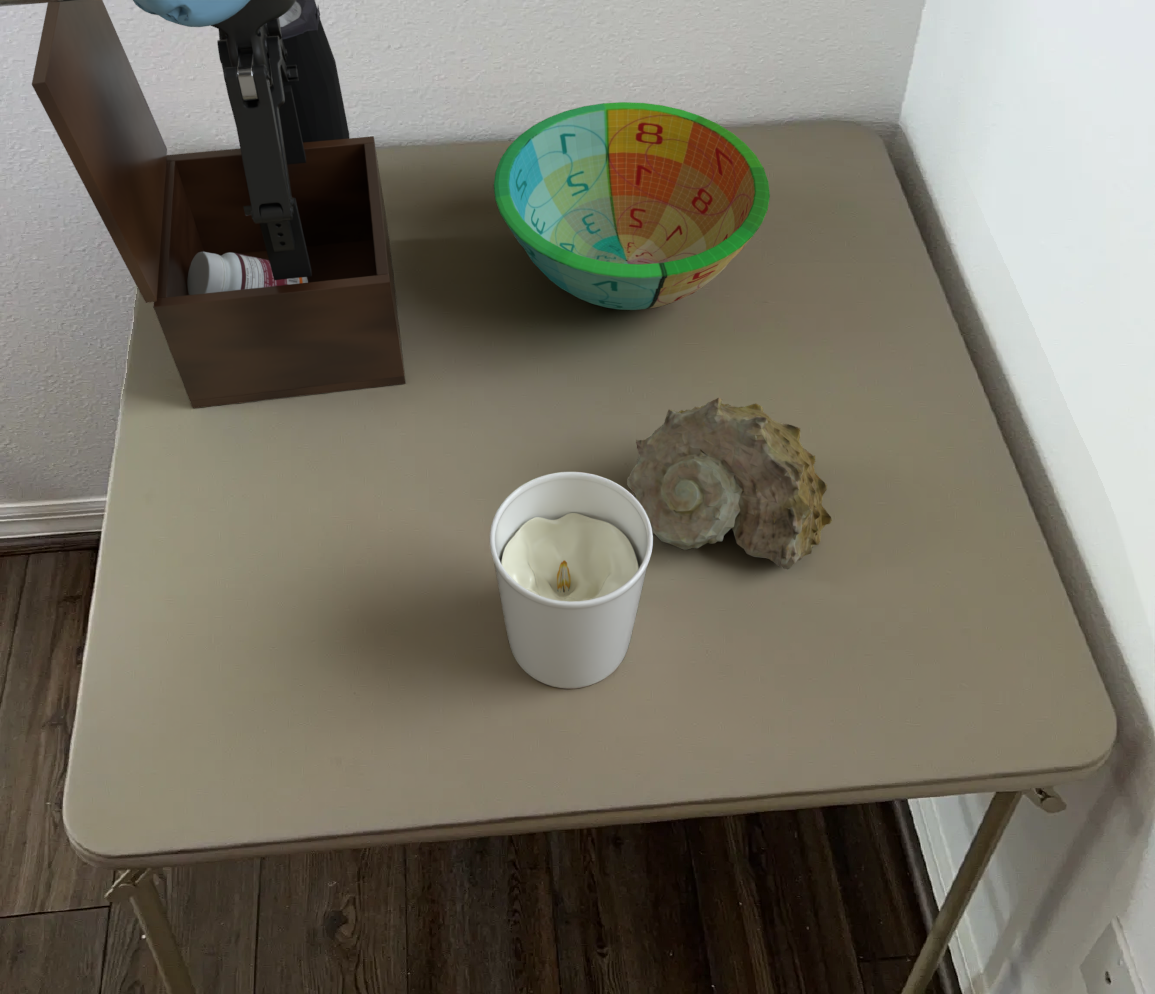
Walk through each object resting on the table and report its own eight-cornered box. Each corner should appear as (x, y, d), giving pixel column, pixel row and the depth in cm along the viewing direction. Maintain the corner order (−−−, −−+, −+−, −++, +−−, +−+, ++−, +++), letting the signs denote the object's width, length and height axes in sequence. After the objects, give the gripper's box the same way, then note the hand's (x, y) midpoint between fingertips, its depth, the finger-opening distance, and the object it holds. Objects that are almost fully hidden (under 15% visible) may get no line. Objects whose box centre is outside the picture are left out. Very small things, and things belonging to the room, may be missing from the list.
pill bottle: (280, 325, 95) (182, 309, 89) (284, 268, 95) (187, 248, 89) (307, 323, 91) (207, 306, 86) (312, 264, 91) (213, 244, 85)
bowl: (498, 195, 106) (494, 101, 98) (736, 192, 106) (751, 98, 98) (498, 370, 92) (492, 277, 84) (770, 365, 93) (790, 272, 85)
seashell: (631, 464, 88) (623, 378, 80) (820, 459, 87) (832, 371, 79) (629, 586, 82) (621, 506, 73) (834, 583, 80) (849, 501, 72)
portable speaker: (262, 177, 107) (212, -24, 91) (362, 173, 107) (329, -27, 92) (253, 237, 101) (199, 34, 86) (359, 232, 102) (323, 30, 86)
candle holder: (485, 590, 79) (475, 486, 70) (619, 563, 81) (628, 458, 71) (513, 714, 74) (507, 619, 64) (658, 683, 75) (673, 586, 66)
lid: (73, -68, 76) (61, -67, 76) (44, 82, 66) (31, 84, 66) (167, 149, 91) (157, 151, 91) (156, 301, 80) (145, 303, 80)
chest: (389, 239, 102) (373, 135, 93) (405, 383, 91) (389, 282, 82) (198, 259, 100) (164, 155, 91) (192, 408, 89) (153, 307, 80)
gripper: (293, 47, 63) (348, 323, 80) (285, -153, 78) (333, 116, 95) (155, 58, 62) (240, 334, 79) (173, -146, 77) (241, 124, 94)
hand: (290, 216), depth 87 cm, fingers open, 13 cm apart
